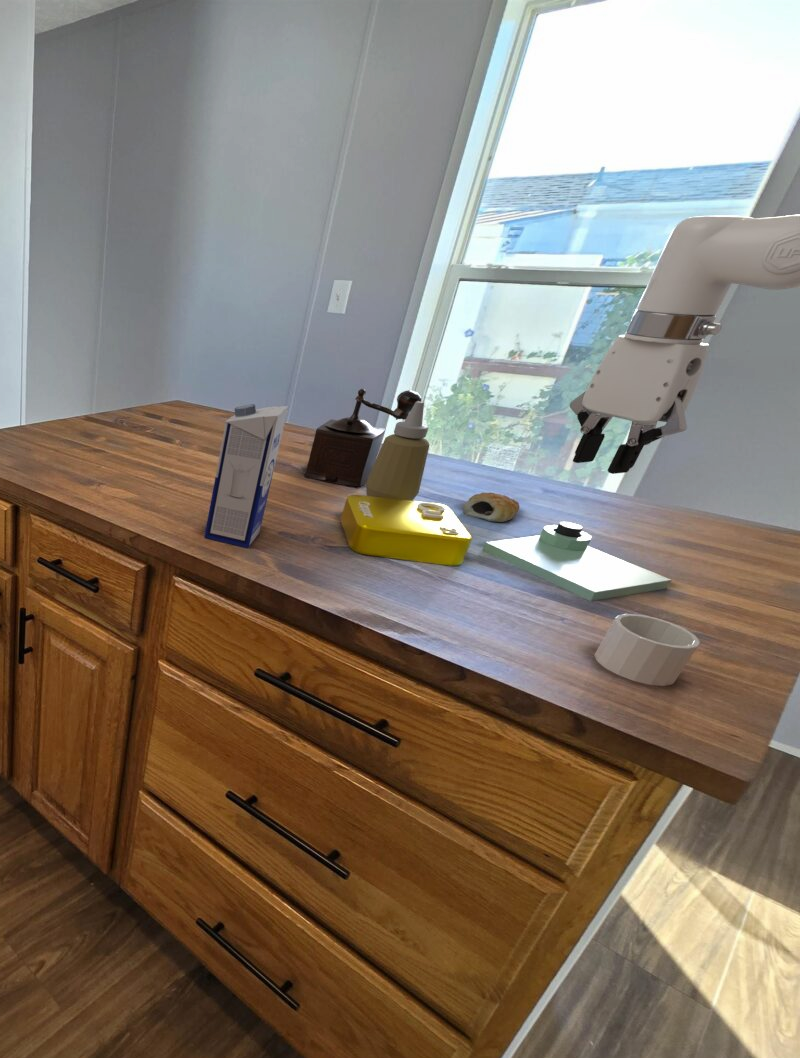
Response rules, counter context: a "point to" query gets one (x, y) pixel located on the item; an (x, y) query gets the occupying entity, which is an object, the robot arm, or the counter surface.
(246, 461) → the milk carton
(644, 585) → the scale
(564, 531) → the tare button
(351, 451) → the manual coffee grinder
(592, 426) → the robot arm
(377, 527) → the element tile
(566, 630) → the counter surface
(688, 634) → the small bowl
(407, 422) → the squeeze bottle
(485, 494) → the pastry
